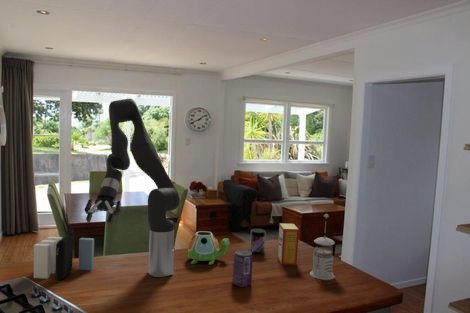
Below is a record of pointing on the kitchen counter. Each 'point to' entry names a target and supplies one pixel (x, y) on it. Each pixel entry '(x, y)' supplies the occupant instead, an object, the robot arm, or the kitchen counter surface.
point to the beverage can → (242, 268)
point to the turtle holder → (206, 247)
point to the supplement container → (257, 241)
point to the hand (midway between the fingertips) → (98, 222)
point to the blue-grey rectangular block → (86, 253)
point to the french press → (323, 259)
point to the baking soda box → (288, 244)
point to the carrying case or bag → (64, 257)
